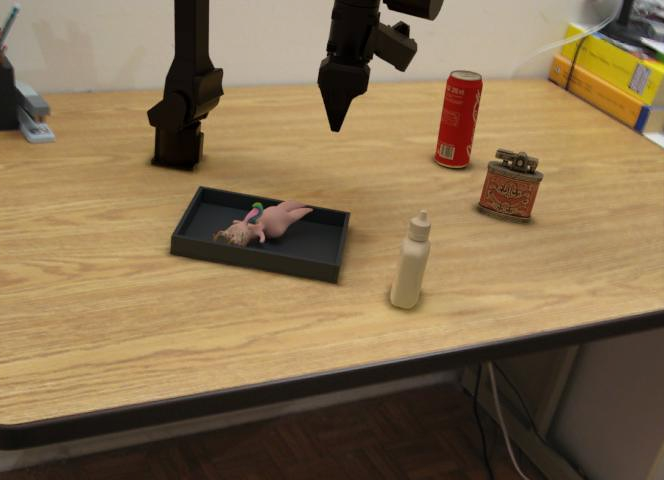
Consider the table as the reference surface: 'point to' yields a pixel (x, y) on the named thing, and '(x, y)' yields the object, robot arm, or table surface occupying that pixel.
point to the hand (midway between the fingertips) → (337, 119)
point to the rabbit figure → (264, 223)
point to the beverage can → (458, 118)
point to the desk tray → (275, 253)
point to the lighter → (510, 187)
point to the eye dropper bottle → (411, 263)
